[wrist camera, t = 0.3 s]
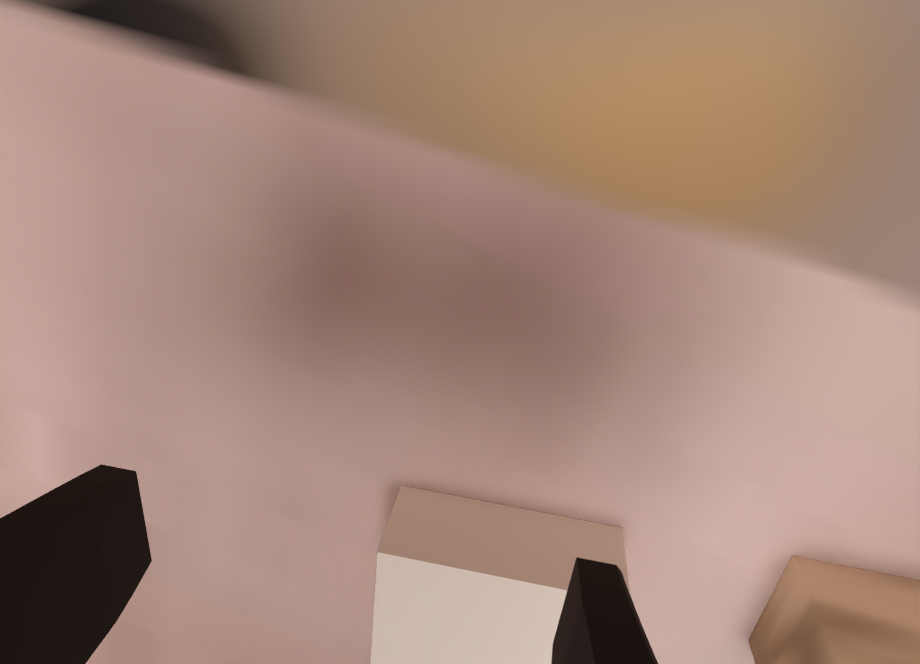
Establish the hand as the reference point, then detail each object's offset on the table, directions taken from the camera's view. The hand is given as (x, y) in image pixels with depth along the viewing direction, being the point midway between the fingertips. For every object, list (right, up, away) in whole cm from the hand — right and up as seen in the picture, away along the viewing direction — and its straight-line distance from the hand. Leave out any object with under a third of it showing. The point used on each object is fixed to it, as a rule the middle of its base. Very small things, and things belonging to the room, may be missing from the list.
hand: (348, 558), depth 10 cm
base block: (+3, -6, +14) cm, 16 cm away
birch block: (+15, -6, +12) cm, 20 cm away
